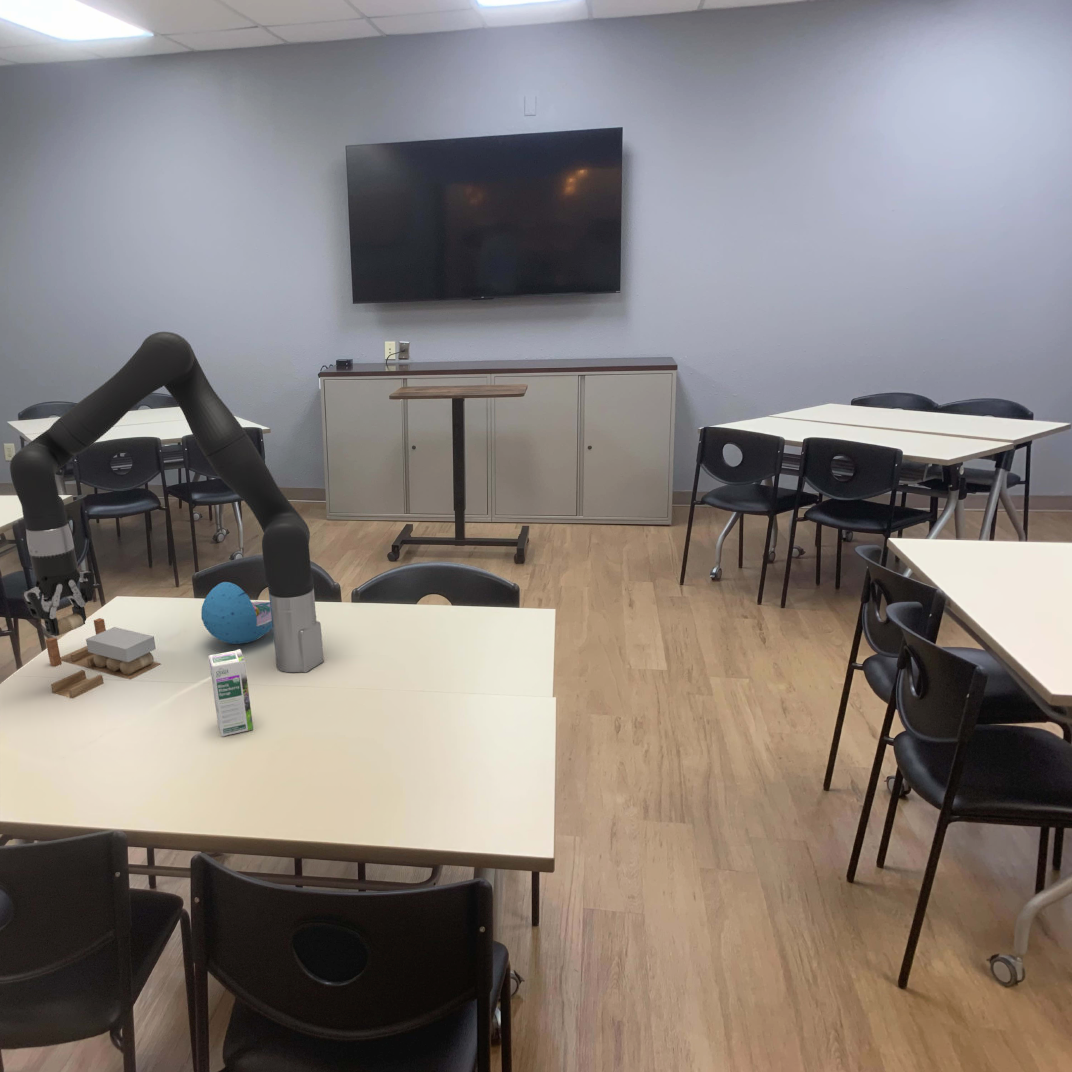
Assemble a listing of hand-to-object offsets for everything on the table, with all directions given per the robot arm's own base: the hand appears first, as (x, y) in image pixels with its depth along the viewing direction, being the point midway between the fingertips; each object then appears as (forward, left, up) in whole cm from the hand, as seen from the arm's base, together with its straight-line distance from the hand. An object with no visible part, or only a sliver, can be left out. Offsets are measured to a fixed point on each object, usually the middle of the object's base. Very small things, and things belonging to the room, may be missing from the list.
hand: (67, 629), depth 160 cm
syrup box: (-39, -3, -14) cm, 42 cm away
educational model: (-12, -34, -14) cm, 39 cm away
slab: (0, -11, -9) cm, 14 cm away
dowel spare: (0, 0, 0) cm, 0 cm away
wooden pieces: (+5, -7, -14) cm, 17 cm away
